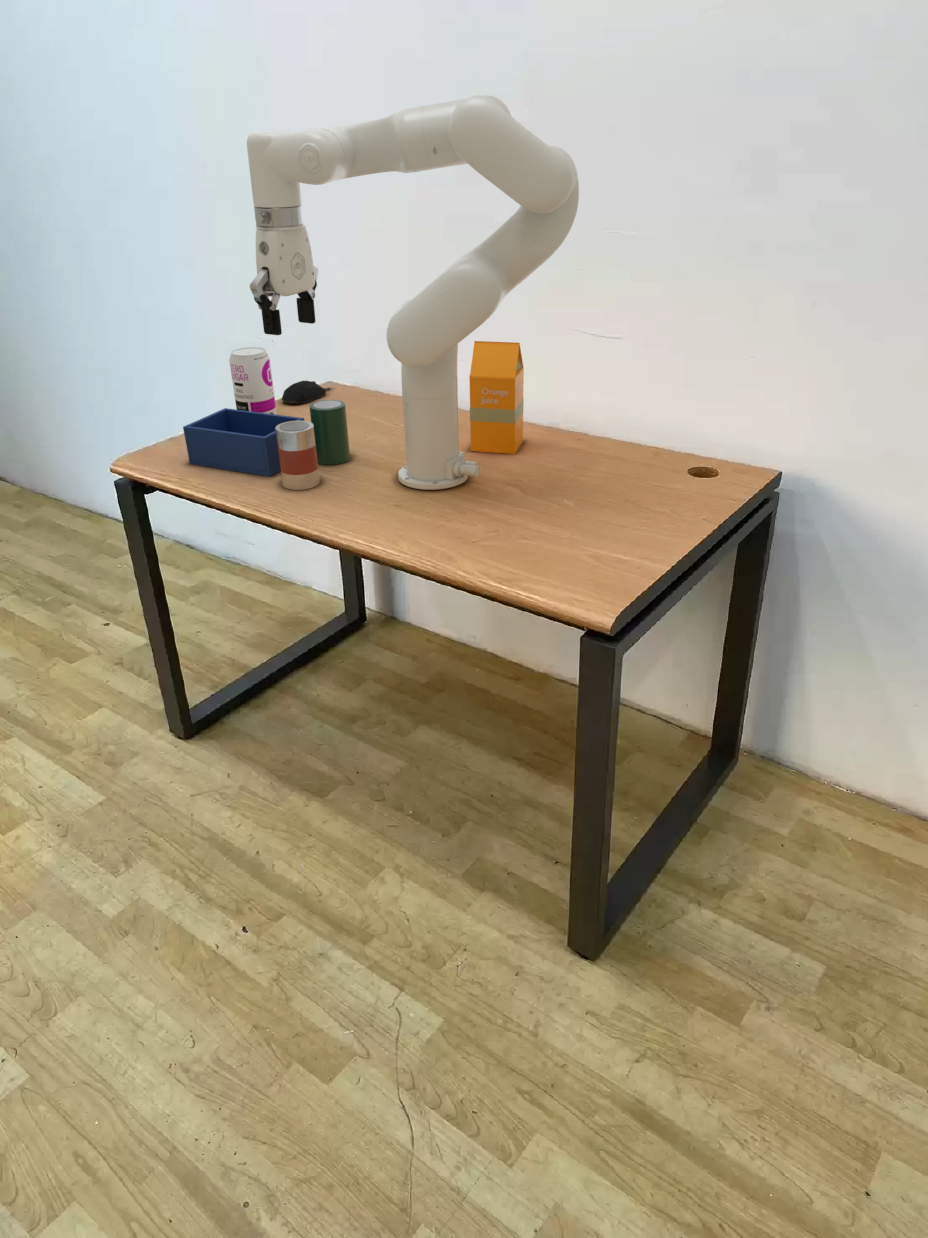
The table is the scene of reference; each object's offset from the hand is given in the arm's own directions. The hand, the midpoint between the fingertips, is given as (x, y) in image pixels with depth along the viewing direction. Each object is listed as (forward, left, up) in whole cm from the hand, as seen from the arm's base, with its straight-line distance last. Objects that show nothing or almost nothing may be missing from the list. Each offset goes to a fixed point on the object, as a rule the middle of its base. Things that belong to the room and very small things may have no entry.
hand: (290, 328), depth 153 cm
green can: (0, -8, -26) cm, 27 cm away
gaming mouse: (+28, -43, -26) cm, 57 cm away
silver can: (-2, +5, -26) cm, 26 cm away
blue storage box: (+15, -2, -26) cm, 30 cm away
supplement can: (+27, -22, -26) cm, 44 cm away
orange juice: (-27, -26, -26) cm, 46 cm away
